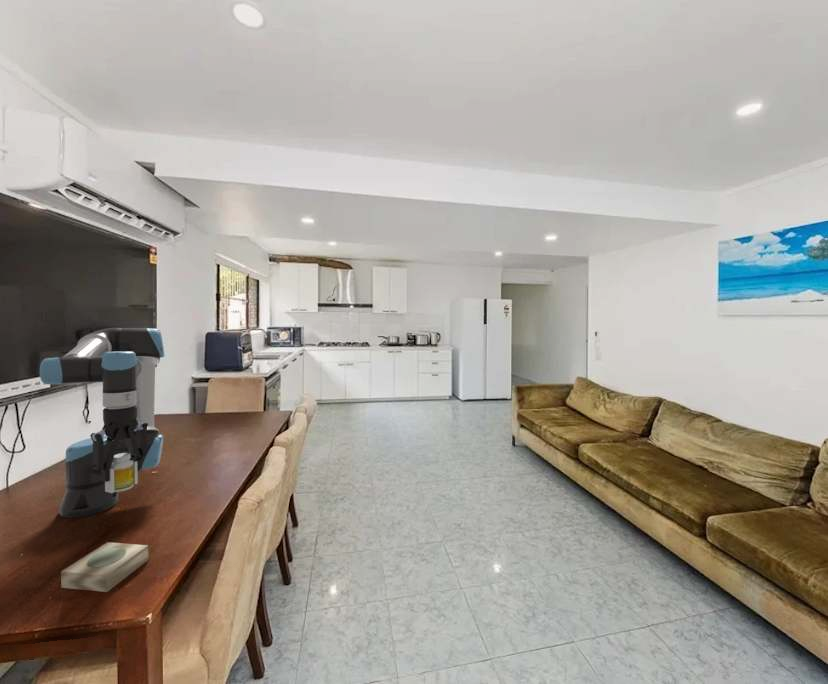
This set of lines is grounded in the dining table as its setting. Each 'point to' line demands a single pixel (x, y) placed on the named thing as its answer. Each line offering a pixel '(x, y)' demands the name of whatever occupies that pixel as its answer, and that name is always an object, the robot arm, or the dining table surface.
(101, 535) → the dining table surface
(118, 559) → the pedestal
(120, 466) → the supplement bottle
